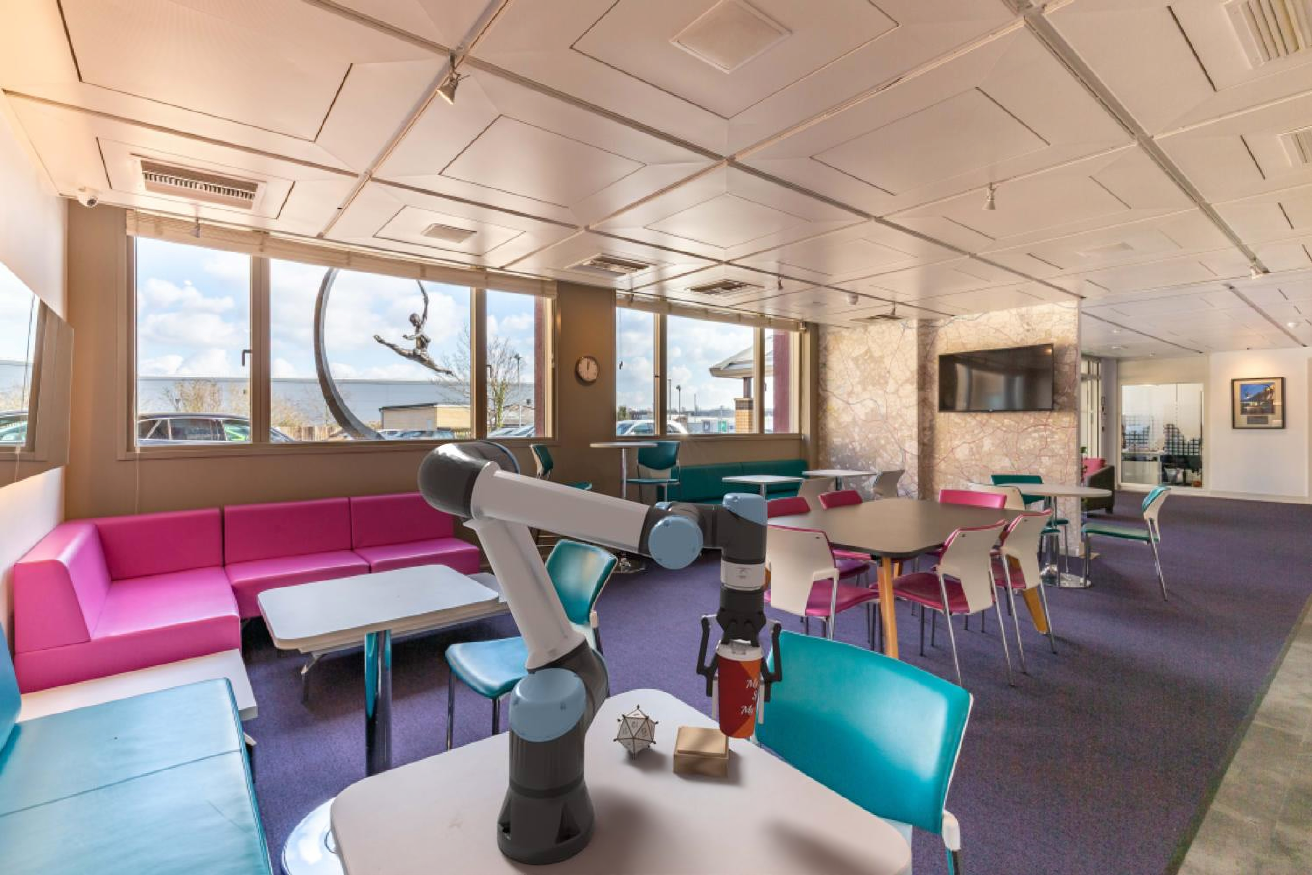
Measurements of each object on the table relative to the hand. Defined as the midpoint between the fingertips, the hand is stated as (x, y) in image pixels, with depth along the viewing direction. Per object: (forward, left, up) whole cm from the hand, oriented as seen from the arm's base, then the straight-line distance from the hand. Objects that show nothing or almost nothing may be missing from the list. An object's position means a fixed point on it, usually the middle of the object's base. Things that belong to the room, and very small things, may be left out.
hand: (737, 716), depth 104 cm
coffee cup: (0, 0, -2) cm, 2 cm away
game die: (-19, +12, -14) cm, 27 cm away
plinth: (-6, +11, -14) cm, 19 cm away
